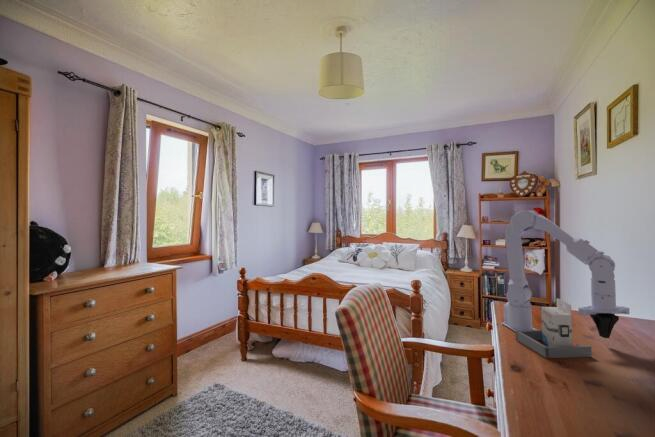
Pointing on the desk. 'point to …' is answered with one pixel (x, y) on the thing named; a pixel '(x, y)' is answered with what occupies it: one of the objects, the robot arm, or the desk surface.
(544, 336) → the ink box
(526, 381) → the desk surface
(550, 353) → the frame
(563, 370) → the desk surface
